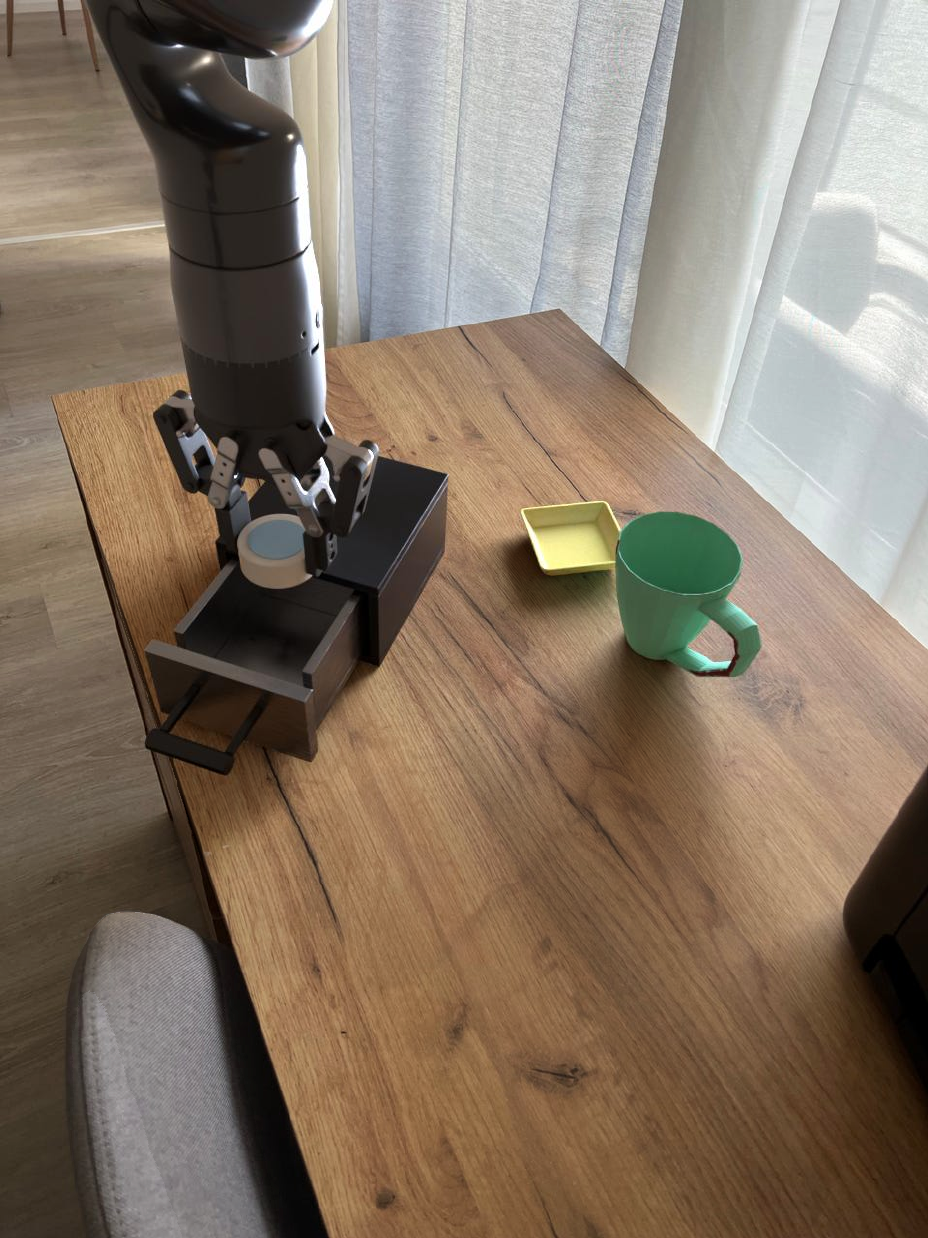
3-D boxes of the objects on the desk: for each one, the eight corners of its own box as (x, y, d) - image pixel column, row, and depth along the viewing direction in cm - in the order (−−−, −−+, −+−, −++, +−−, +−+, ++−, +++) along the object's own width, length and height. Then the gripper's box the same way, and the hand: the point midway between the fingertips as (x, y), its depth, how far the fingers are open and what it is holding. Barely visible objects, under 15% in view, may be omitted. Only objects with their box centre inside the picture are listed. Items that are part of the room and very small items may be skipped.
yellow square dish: (539, 587, 85) (541, 570, 83) (516, 524, 91) (518, 507, 89) (631, 578, 86) (635, 560, 85) (603, 516, 92) (606, 499, 91)
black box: (379, 667, 77) (378, 588, 71) (228, 620, 80) (214, 541, 74) (444, 551, 88) (448, 473, 81) (309, 513, 90) (302, 435, 84)
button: (276, 601, 61) (273, 578, 59) (224, 561, 63) (220, 538, 62) (336, 561, 64) (334, 538, 62) (284, 525, 66) (281, 502, 64)
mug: (574, 619, 82) (591, 531, 75) (664, 585, 86) (689, 497, 79) (679, 742, 74) (710, 656, 67) (775, 698, 77) (814, 612, 70)
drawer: (274, 827, 66) (264, 767, 61) (116, 771, 68) (94, 709, 63) (386, 633, 79) (386, 570, 74) (251, 592, 81) (241, 529, 76)
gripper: (92, 323, 50) (153, 562, 62) (343, 387, 47) (355, 625, 59) (171, 262, 55) (213, 494, 67) (403, 317, 52) (402, 549, 64)
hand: (279, 554), depth 63 cm, fingers closed on button, 5 cm apart
